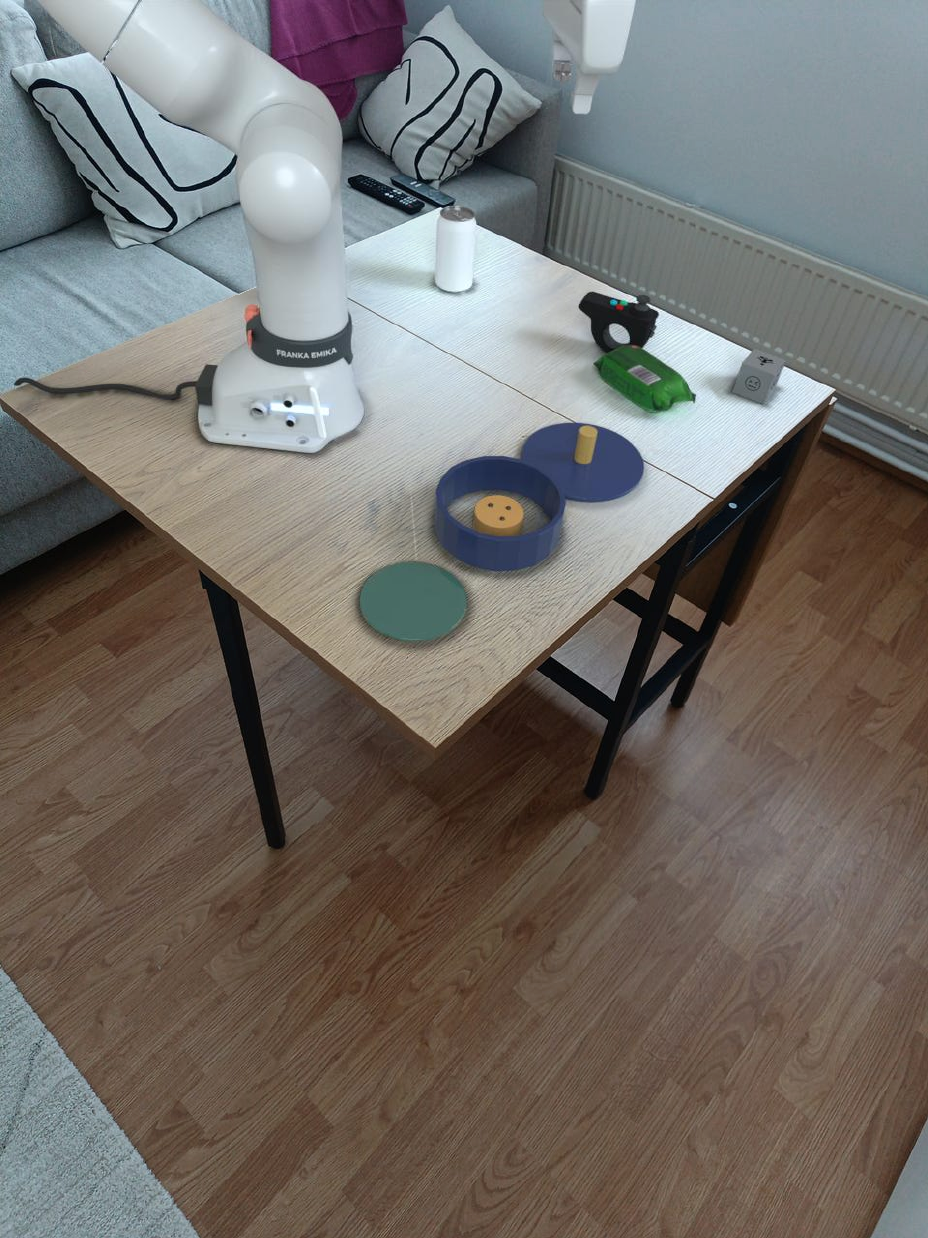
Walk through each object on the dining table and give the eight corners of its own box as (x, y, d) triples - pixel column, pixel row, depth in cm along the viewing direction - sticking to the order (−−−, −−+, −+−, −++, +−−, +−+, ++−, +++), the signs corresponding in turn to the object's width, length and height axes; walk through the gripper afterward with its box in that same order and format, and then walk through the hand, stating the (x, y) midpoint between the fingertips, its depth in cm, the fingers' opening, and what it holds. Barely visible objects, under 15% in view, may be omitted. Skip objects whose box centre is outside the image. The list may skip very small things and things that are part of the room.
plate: (360, 646, 94) (360, 641, 93) (359, 567, 102) (359, 562, 101) (471, 642, 95) (471, 637, 95) (461, 565, 103) (461, 560, 103)
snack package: (658, 429, 124) (667, 398, 120) (587, 375, 132) (593, 344, 128) (693, 415, 127) (703, 384, 123) (621, 363, 135) (628, 332, 131)
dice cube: (775, 389, 133) (786, 360, 129) (763, 404, 130) (774, 374, 126) (744, 377, 135) (754, 348, 131) (732, 392, 132) (742, 362, 128)
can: (456, 271, 152) (460, 200, 143) (480, 286, 149) (485, 215, 140) (426, 281, 149) (429, 209, 140) (450, 297, 146) (454, 225, 137)
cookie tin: (439, 576, 102) (441, 541, 98) (430, 490, 112) (431, 456, 108) (568, 572, 103) (575, 538, 99) (548, 489, 114) (554, 454, 110)
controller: (641, 369, 134) (655, 309, 127) (569, 345, 138) (579, 284, 130) (651, 357, 137) (666, 297, 129) (580, 333, 140) (590, 273, 133)
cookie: (475, 544, 105) (477, 526, 103) (470, 511, 109) (472, 493, 107) (524, 543, 106) (527, 525, 104) (517, 510, 110) (520, 493, 108)
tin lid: (530, 507, 111) (535, 471, 107) (513, 429, 122) (517, 394, 118) (655, 505, 113) (665, 469, 109) (627, 428, 124) (635, 394, 119)
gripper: (538, -97, 87) (521, 61, 97) (584, -47, 74) (560, 130, 84) (599, -93, 88) (576, 63, 98) (656, -44, 75) (623, 132, 85)
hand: (569, 95), depth 91 cm, fingers open, 8 cm apart
